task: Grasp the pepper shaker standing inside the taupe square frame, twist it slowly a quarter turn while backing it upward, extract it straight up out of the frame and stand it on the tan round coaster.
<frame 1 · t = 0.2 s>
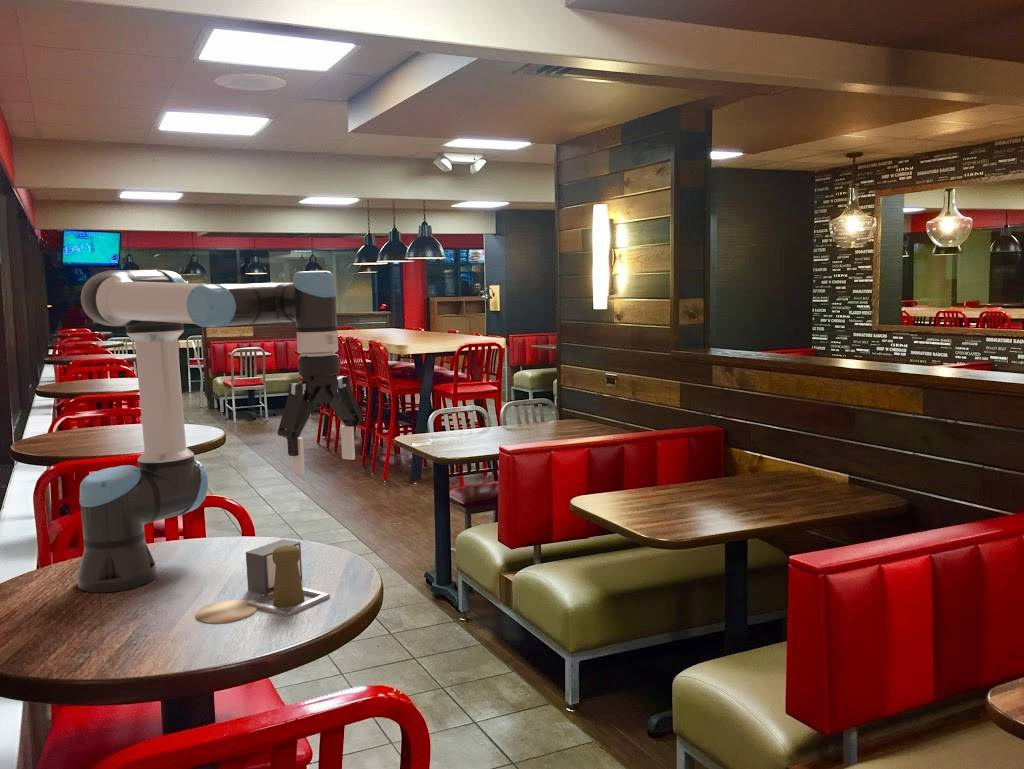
hand: (324, 465, 168), 27 cm above the table, fingers open, 13 cm apart
pepper shaker: (288, 602, 171), resting in taupe square frame
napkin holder: (275, 585, 181), on the table
taupe square frame: (288, 601, 171), on the table
tan round coaster: (226, 612, 166), on the table
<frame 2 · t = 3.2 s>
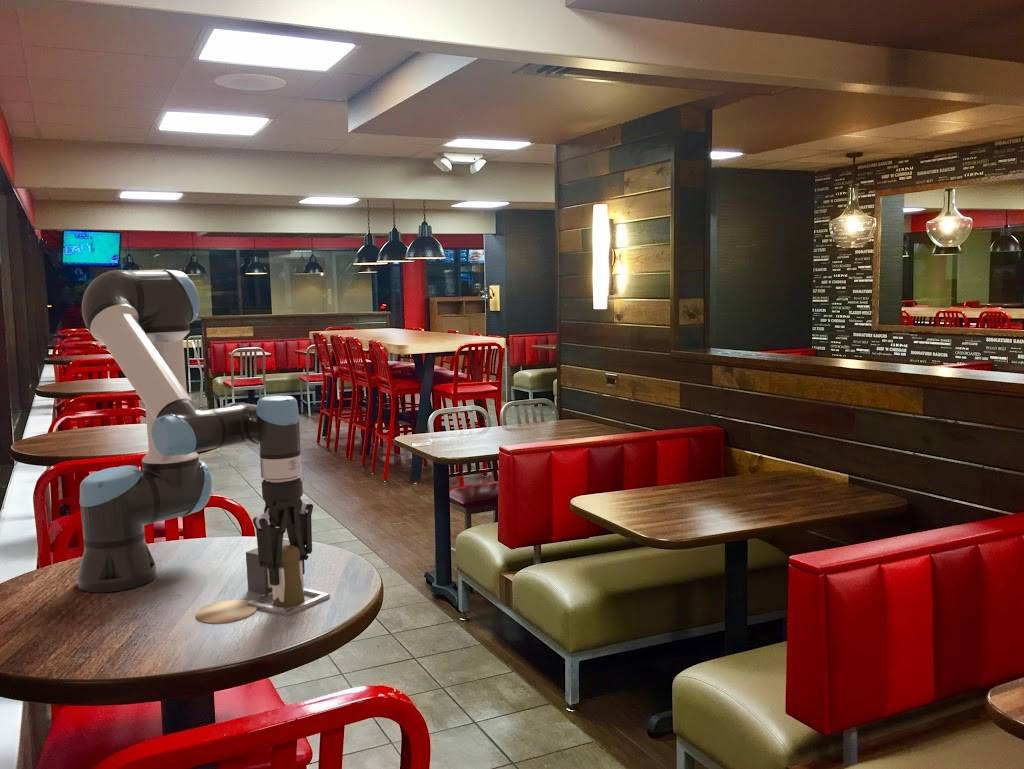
hand: (288, 596, 171), 1 cm above the table, fingers closed on pepper shaker, 4 cm apart
pepper shaker: (289, 602, 171), resting in taupe square frame, touching gripper
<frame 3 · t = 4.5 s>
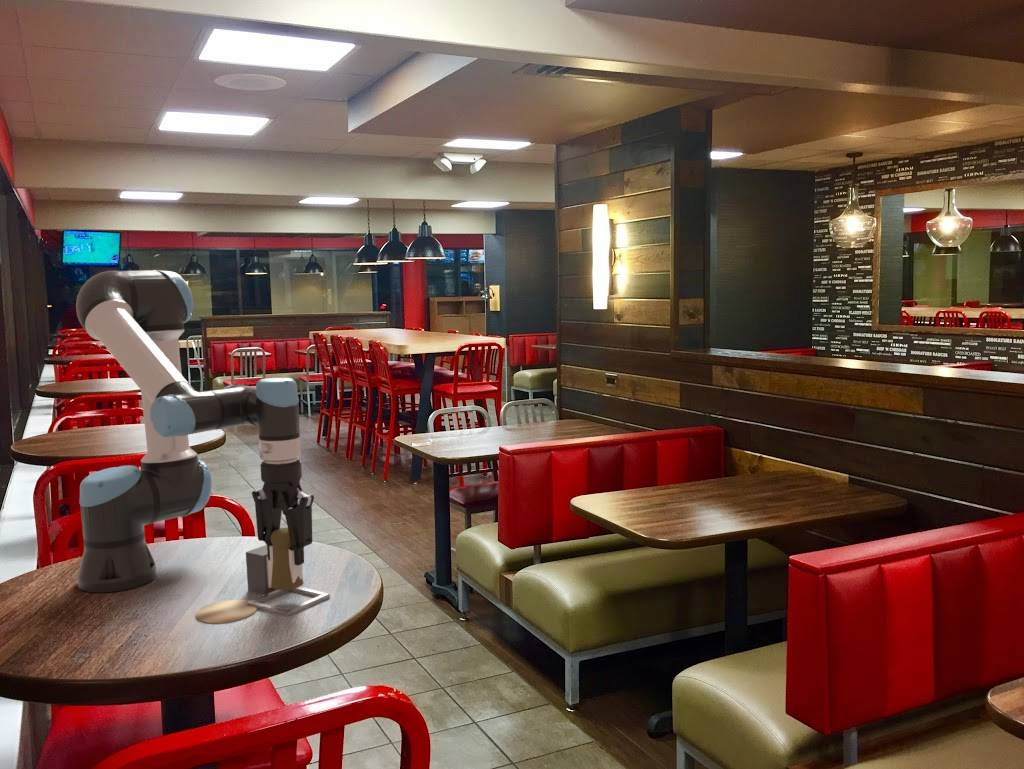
hand: (286, 578, 171), 5 cm above the table, fingers closed on pepper shaker, 4 cm apart
pepper shaker: (287, 585, 171), point 3 cm above the table, touching gripper
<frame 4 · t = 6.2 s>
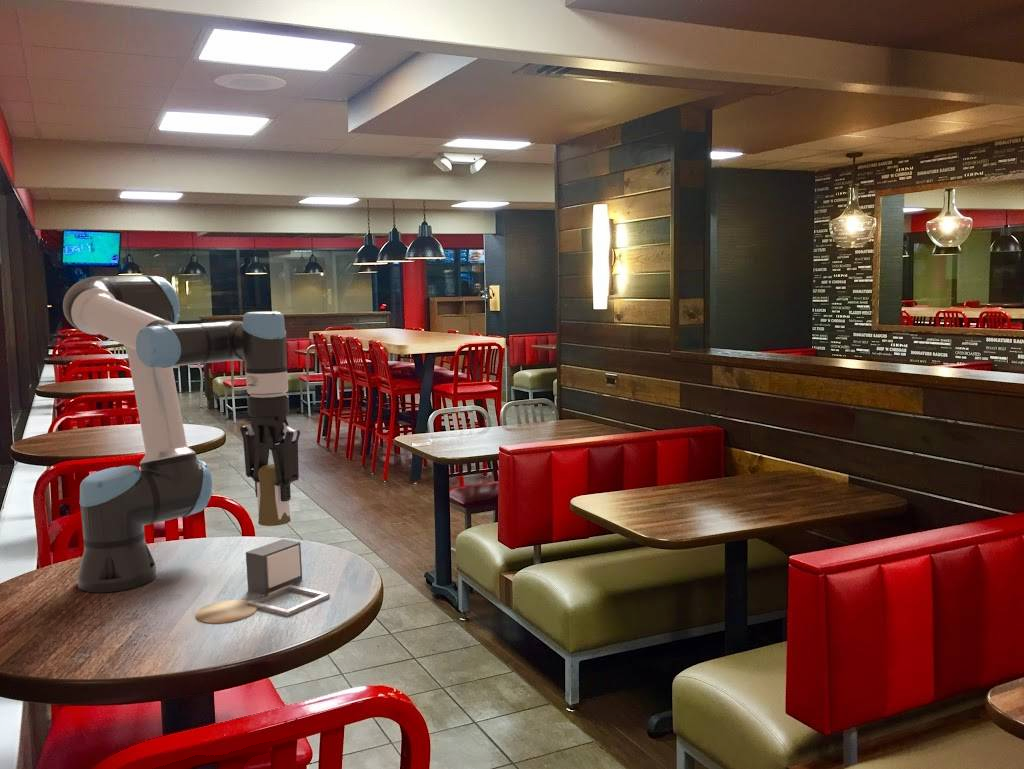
hand: (274, 515, 169), 17 cm above the table, fingers closed on pepper shaker, 4 cm apart
pepper shaker: (274, 522, 169), point 16 cm above the table, touching gripper
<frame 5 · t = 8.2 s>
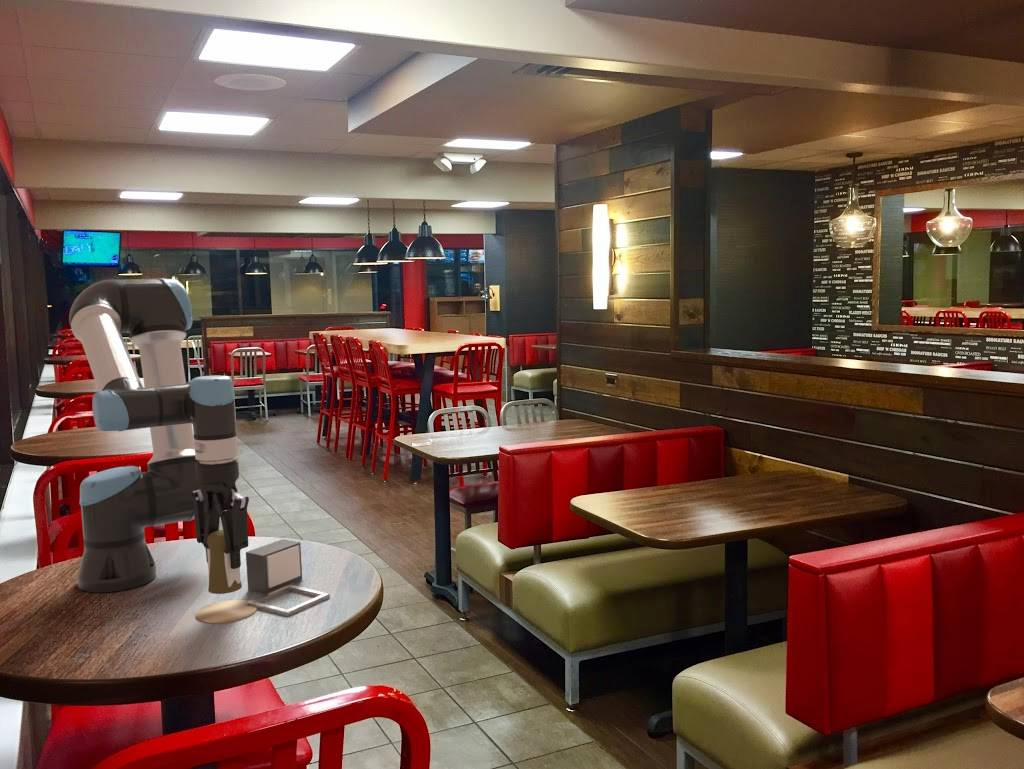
hand: (224, 582, 166), 6 cm above the table, fingers closed on pepper shaker, 4 cm apart
pepper shaker: (225, 589, 166), point 4 cm above the table, touching gripper
when the fingers open (2 cm above the table, at t = 9.2 s): pepper shaker stays where it is, resting on tan round coaster.
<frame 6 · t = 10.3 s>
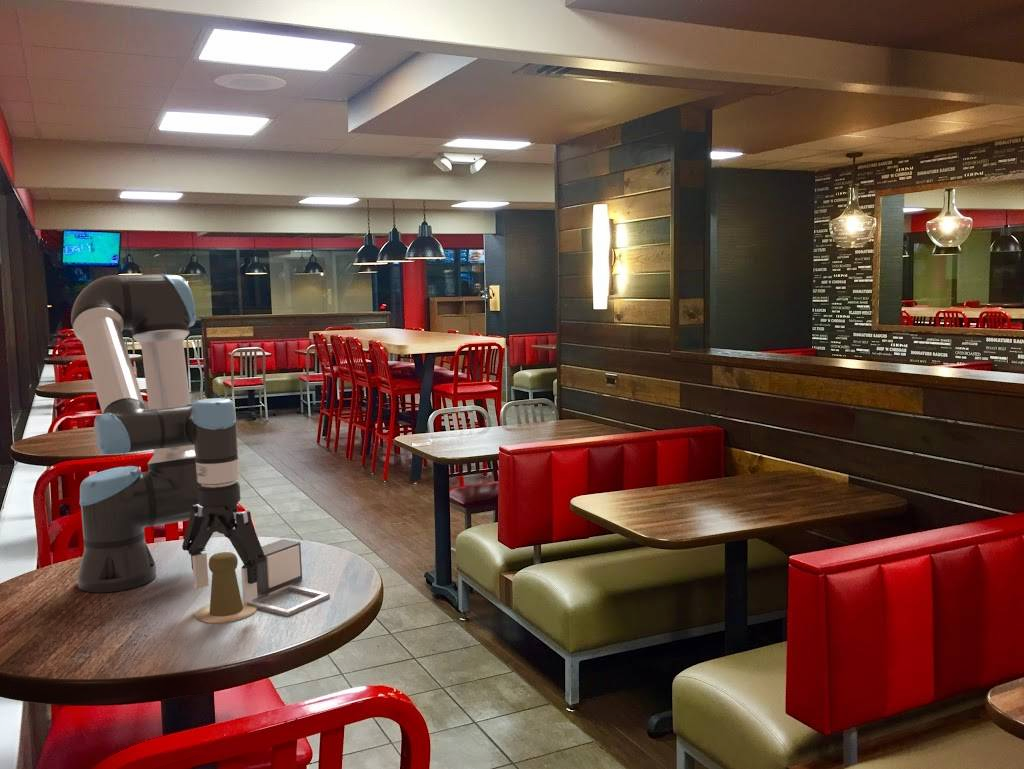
hand: (225, 593, 166), 4 cm above the table, fingers open, 13 cm apart
pepper shaker: (226, 611, 166), resting on tan round coaster
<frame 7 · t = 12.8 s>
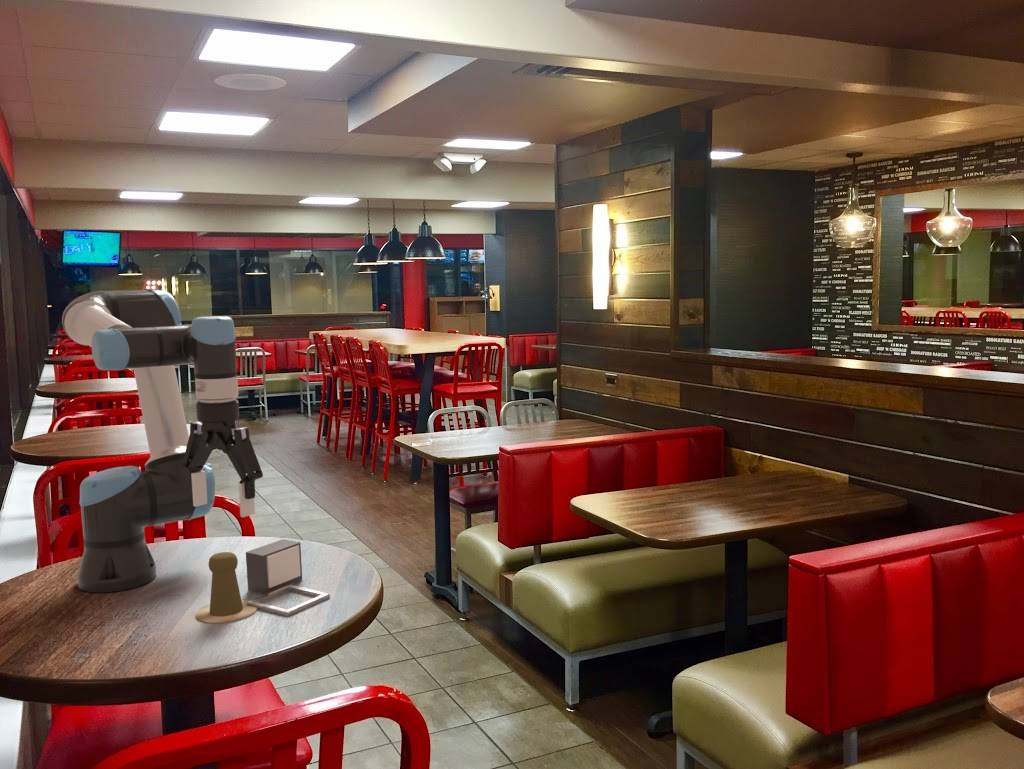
hand: (223, 510, 168), 19 cm above the table, fingers open, 13 cm apart
nothing on the table moved.
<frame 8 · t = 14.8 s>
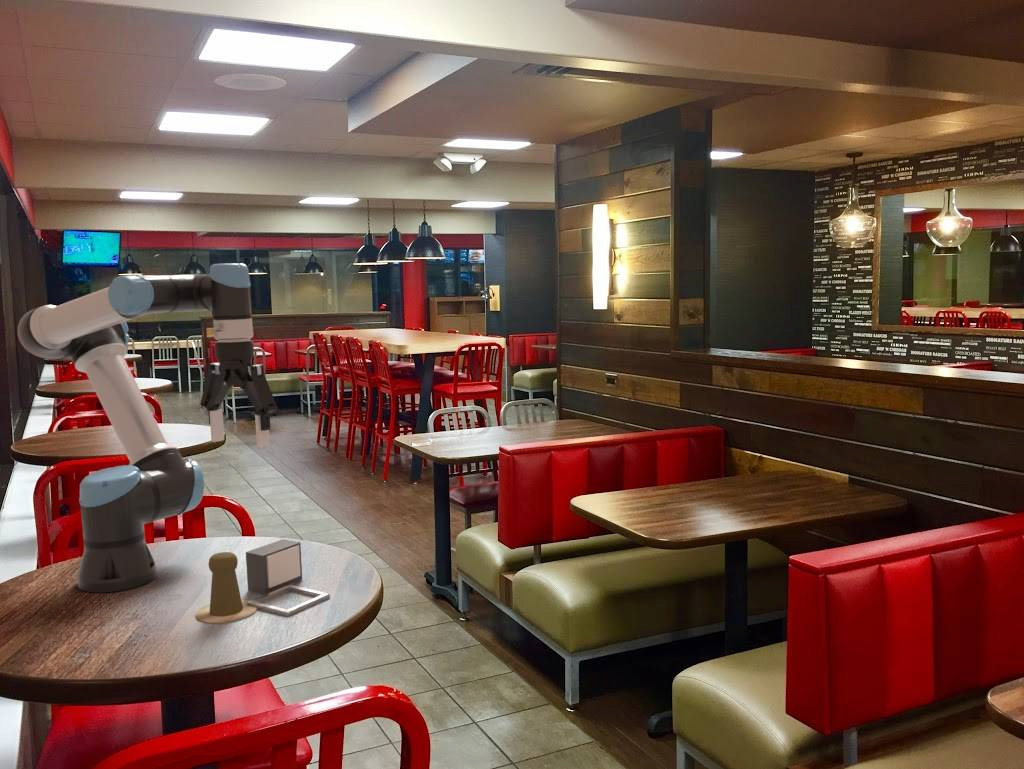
hand: (240, 443, 181), 29 cm above the table, fingers open, 13 cm apart
nothing on the table moved.
at the end: pepper shaker 0.1 cm from the tan round coaster (horizontally); pepper shaker tilted 0°; the gripper is holding nothing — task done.
